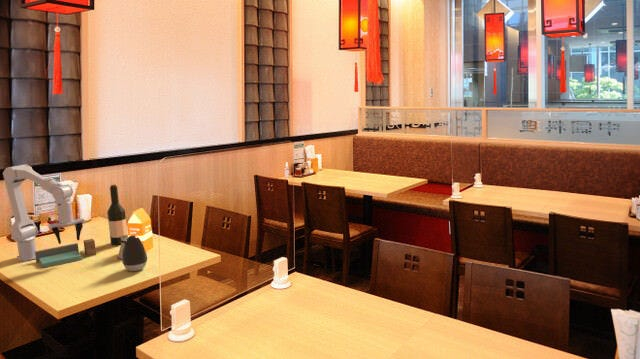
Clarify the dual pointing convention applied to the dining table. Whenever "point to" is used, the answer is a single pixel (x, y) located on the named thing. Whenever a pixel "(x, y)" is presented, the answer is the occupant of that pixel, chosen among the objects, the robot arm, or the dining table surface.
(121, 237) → the flask
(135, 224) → the orange juice
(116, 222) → the wine bottle
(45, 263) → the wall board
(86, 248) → the walnut block
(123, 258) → the black egg shape
